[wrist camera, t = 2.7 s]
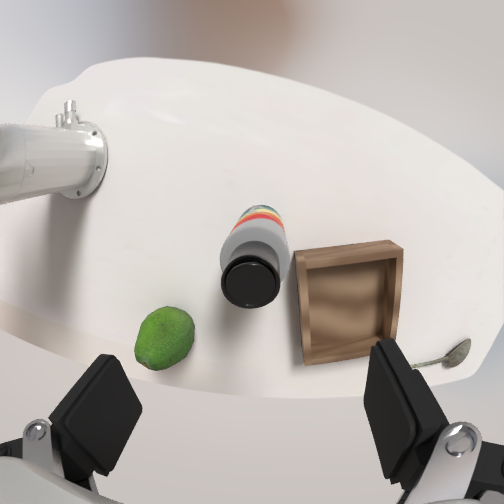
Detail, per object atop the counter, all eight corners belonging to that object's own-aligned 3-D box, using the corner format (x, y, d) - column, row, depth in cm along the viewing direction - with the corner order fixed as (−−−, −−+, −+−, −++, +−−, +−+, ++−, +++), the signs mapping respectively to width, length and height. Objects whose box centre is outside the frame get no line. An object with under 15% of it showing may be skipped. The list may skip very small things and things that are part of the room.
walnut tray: (294, 251, 37) (297, 262, 32) (389, 239, 35) (403, 248, 31) (301, 347, 41) (304, 365, 36) (383, 333, 40) (393, 350, 35)
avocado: (149, 297, 40) (113, 337, 29) (195, 295, 40) (169, 340, 28) (161, 339, 43) (133, 385, 31) (205, 339, 42) (186, 390, 30)
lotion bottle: (276, 199, 35) (283, 231, 16) (287, 240, 36) (304, 314, 17) (234, 210, 36) (192, 256, 17) (246, 251, 37) (222, 332, 18)
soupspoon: (462, 358, 42) (471, 332, 41) (470, 365, 39) (480, 339, 37) (380, 378, 43) (388, 350, 41) (386, 389, 40) (395, 360, 38)
